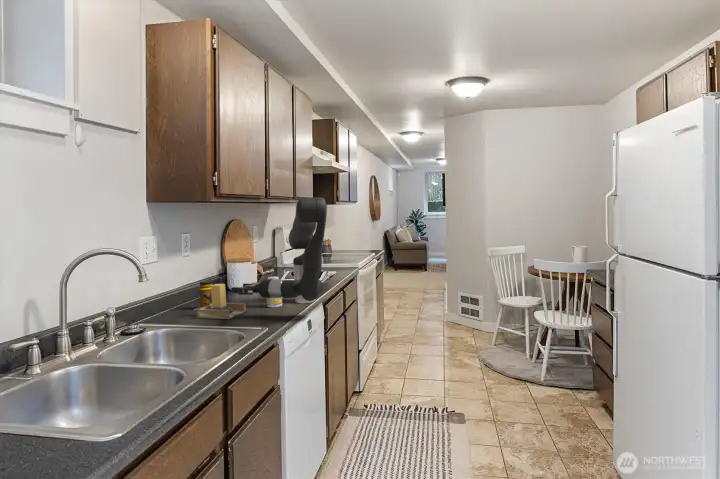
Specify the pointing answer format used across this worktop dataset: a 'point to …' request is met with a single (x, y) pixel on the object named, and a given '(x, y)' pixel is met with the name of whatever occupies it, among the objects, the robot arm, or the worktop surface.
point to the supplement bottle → (274, 299)
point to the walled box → (221, 311)
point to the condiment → (205, 294)
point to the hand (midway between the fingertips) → (237, 288)
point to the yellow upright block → (218, 297)
